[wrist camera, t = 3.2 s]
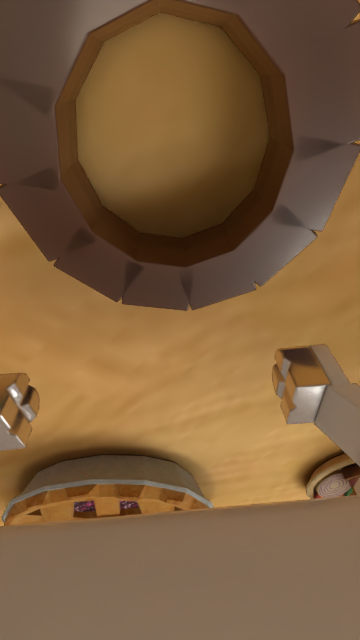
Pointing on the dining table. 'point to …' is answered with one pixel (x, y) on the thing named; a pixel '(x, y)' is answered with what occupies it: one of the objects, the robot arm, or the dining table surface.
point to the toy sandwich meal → (334, 478)
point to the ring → (276, 170)
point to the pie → (105, 490)
